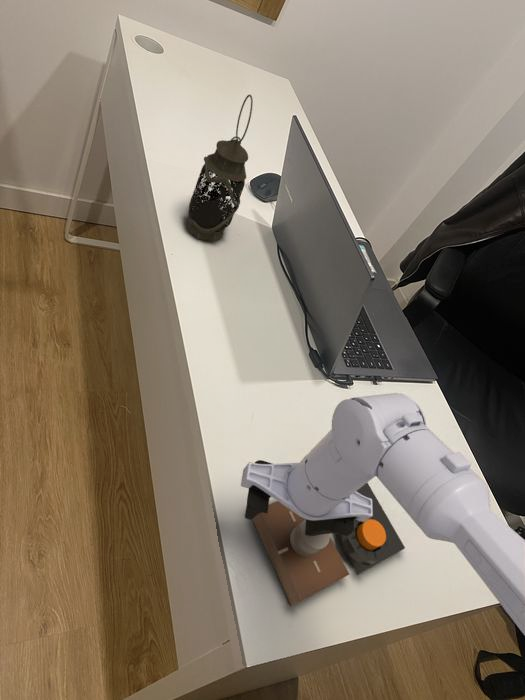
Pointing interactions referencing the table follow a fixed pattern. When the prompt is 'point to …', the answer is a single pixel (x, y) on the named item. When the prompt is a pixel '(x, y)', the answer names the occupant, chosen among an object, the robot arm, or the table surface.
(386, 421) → the robot arm
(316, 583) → the dimmer panel
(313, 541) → the dial
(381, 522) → the switch block
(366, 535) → the switch button
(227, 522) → the table surface
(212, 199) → the lantern
